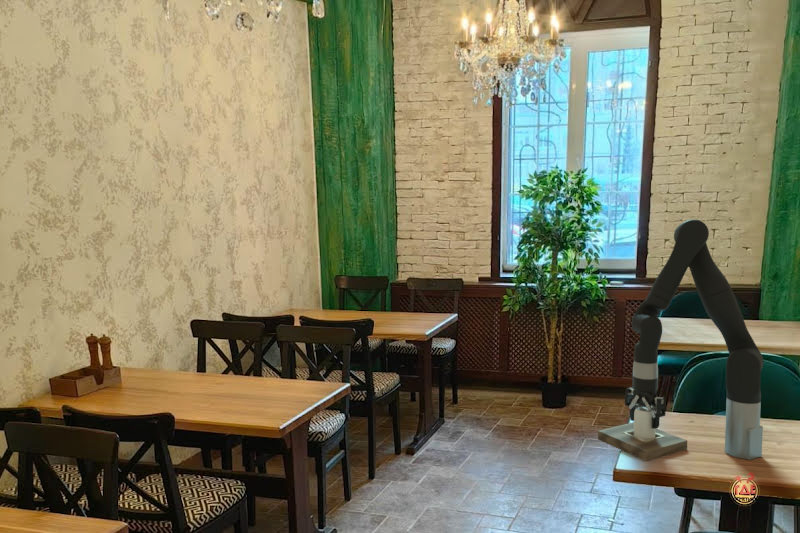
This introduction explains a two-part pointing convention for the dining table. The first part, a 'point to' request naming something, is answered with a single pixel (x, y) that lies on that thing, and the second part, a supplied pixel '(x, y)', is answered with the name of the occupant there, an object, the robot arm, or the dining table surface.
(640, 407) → the can
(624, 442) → the socket board
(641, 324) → the robot arm
